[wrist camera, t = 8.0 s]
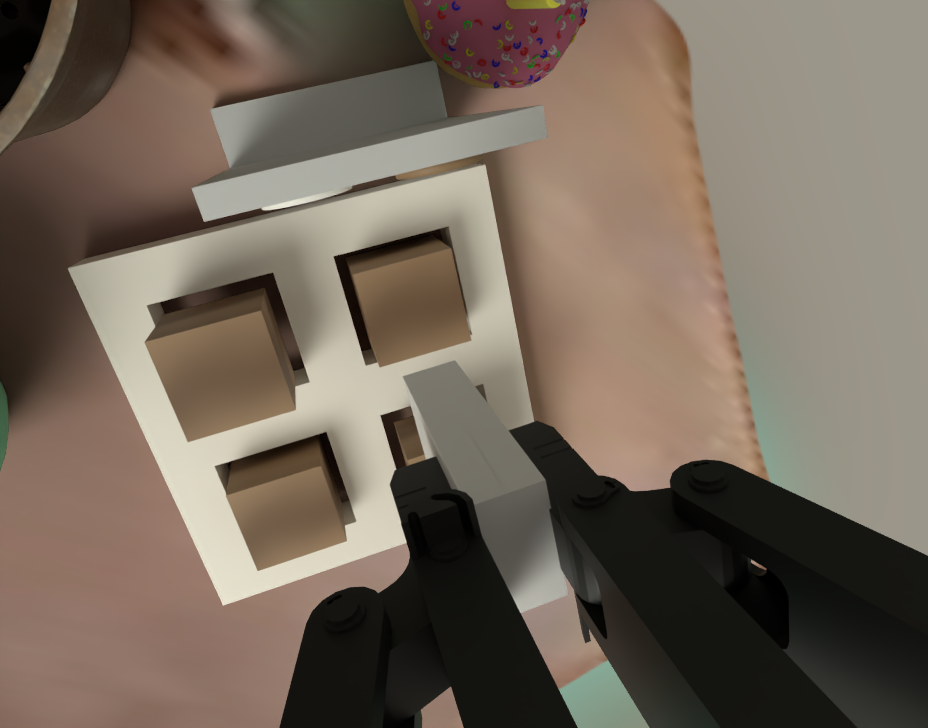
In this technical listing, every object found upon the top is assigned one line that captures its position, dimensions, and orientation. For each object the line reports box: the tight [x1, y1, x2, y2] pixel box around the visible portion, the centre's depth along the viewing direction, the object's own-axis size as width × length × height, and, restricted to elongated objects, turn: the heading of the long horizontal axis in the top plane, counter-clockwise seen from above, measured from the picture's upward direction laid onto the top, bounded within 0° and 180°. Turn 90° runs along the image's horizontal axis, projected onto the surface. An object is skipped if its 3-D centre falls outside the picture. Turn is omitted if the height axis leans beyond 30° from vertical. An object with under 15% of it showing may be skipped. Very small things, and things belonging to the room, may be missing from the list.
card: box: [192, 61, 548, 222], centre depth 25 cm, size 4×11×14 cm, turn 103°
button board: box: [68, 163, 534, 605], centre depth 35 cm, size 20×20×2 cm
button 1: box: [226, 434, 347, 571], centre depth 35 cm, size 5×5×4 cm
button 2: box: [144, 288, 296, 442], centre depth 29 cm, size 5×5×4 cm
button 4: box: [345, 235, 472, 367], centre depth 33 cm, size 5×5×4 cm
